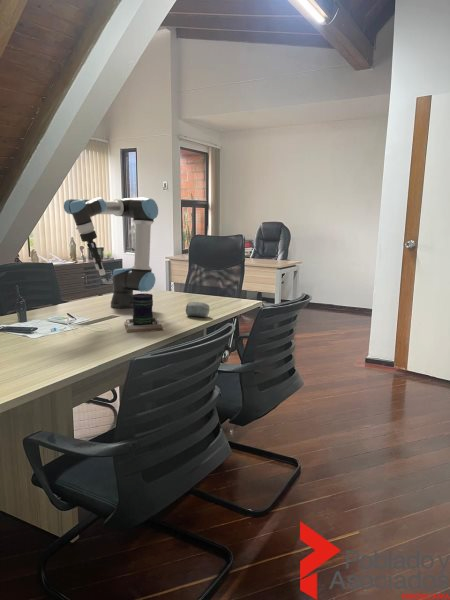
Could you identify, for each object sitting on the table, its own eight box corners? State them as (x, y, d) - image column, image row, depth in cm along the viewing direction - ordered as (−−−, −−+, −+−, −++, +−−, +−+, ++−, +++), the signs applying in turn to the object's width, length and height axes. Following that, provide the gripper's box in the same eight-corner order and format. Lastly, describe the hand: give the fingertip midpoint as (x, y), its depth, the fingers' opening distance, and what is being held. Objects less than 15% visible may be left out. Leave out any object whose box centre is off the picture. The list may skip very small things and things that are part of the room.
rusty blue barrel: (155, 326, 210) (154, 296, 207) (134, 327, 206) (134, 297, 203) (150, 321, 219) (150, 293, 216) (131, 323, 215) (130, 293, 212)
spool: (180, 311, 236) (188, 295, 237) (186, 315, 244) (194, 300, 246) (201, 320, 230) (208, 303, 232) (206, 324, 239) (214, 308, 241)
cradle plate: (124, 323, 218) (124, 318, 218) (157, 322, 223) (157, 317, 223) (127, 332, 202) (126, 326, 202) (162, 330, 207) (162, 325, 207)
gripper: (77, 230, 219) (90, 269, 227) (82, 237, 197) (97, 280, 205) (91, 226, 221) (104, 264, 229) (98, 233, 199) (112, 275, 207)
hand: (101, 272), depth 217 cm, fingers open, 13 cm apart
